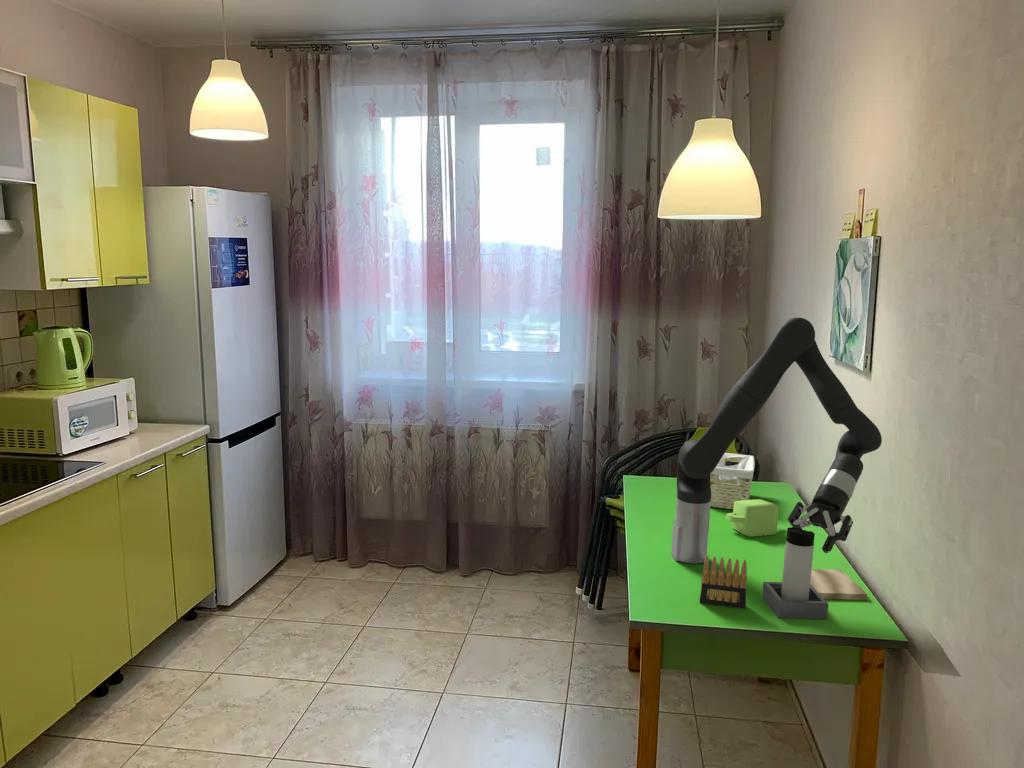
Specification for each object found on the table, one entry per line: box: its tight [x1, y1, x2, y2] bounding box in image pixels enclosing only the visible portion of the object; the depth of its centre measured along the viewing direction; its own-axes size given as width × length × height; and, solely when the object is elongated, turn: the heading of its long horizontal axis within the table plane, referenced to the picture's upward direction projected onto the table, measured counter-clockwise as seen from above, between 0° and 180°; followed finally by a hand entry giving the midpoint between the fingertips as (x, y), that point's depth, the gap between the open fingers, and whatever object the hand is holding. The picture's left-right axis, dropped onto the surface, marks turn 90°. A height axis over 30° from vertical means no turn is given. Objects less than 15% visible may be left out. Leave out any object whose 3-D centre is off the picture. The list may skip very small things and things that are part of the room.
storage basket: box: [710, 452, 756, 510], centre depth 263 cm, size 24×16×15 cm
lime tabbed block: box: [725, 499, 779, 537], centre depth 233 cm, size 18×10×10 cm, turn 110°
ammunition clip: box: [699, 555, 748, 609], centre depth 181 cm, size 11×2×12 cm, turn 77°
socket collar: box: [761, 581, 829, 620], centre depth 181 cm, size 11×11×4 cm
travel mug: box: [781, 526, 816, 601], centre depth 179 cm, size 6×7×20 cm
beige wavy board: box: [810, 568, 868, 601], centre depth 194 cm, size 13×15×2 cm
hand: (807, 545), depth 181 cm, fingers open, 8 cm apart
